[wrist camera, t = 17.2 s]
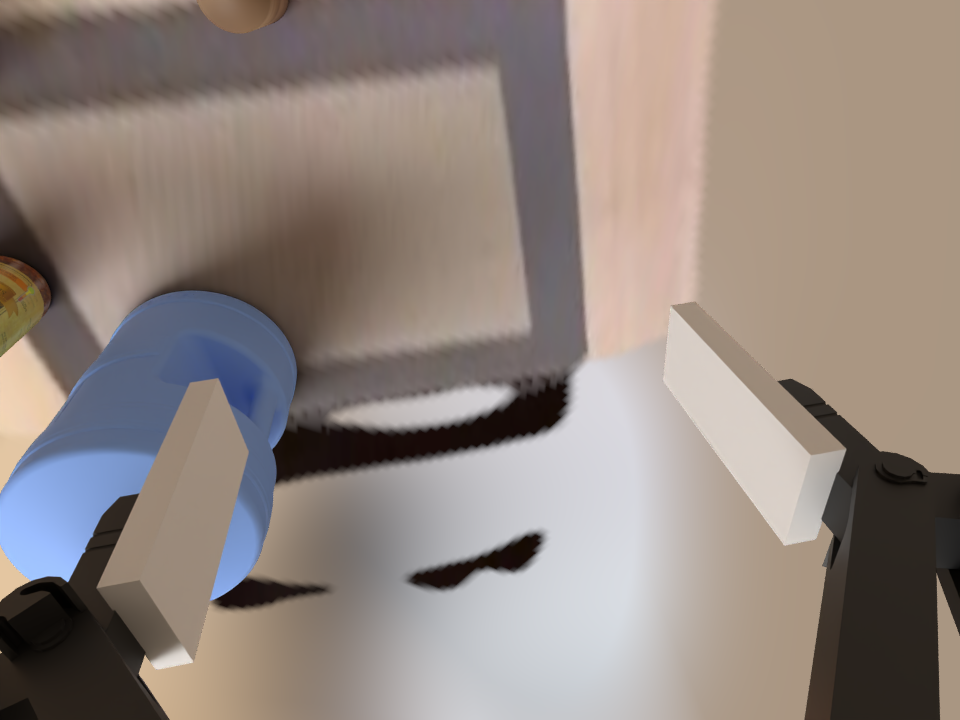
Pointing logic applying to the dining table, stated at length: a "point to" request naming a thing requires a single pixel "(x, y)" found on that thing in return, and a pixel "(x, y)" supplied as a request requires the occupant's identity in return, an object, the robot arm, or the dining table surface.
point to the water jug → (151, 430)
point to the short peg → (243, 13)
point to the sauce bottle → (20, 300)
